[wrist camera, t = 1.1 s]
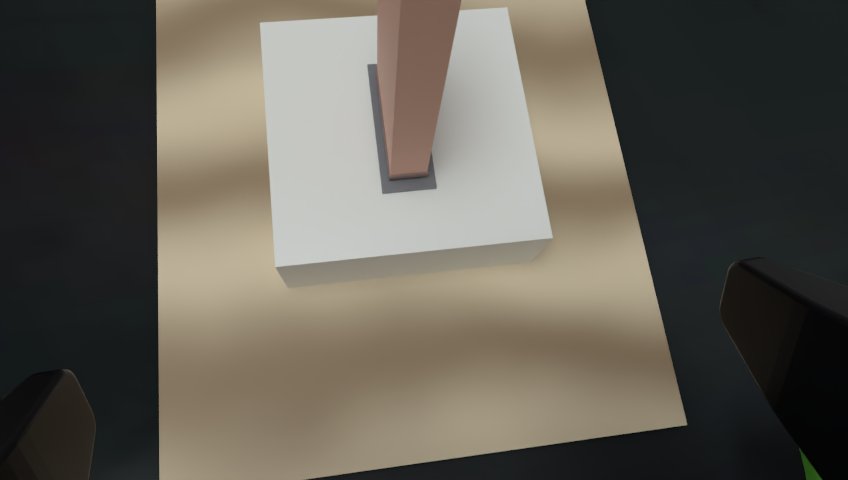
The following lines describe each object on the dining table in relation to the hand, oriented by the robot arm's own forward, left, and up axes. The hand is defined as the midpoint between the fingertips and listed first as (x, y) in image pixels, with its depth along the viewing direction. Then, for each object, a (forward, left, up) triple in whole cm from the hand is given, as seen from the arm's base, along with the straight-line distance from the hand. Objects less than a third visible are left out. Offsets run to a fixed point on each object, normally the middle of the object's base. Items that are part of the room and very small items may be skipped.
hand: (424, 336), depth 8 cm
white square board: (+6, -7, -14) cm, 17 cm away
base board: (+5, -6, -14) cm, 16 cm away
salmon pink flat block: (+6, -7, -10) cm, 13 cm away
